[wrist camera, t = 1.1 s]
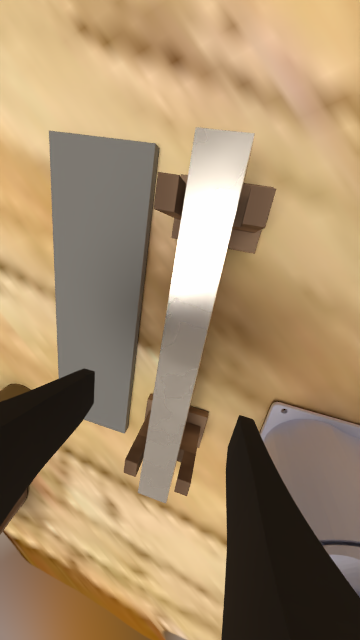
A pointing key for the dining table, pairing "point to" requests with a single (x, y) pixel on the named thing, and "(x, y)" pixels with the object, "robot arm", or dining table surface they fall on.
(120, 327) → the long grey plate
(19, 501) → the plant pot
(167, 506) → the dining table surface
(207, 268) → the steel rail
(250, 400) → the dining table surface
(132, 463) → the cradle rack
